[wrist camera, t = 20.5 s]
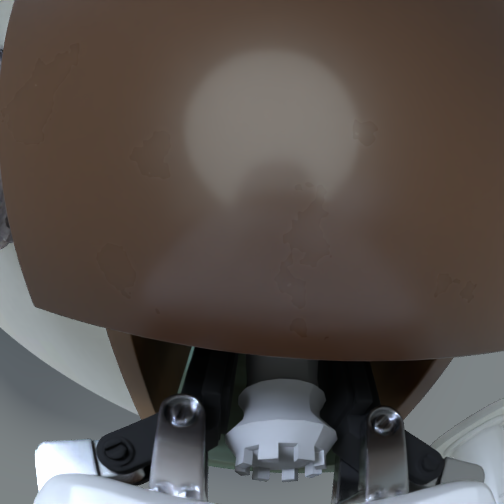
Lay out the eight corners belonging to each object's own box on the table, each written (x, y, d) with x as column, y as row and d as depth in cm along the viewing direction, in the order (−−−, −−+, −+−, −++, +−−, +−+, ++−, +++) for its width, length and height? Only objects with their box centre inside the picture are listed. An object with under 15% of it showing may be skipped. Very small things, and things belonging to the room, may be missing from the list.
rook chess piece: (275, 238, 12) (272, 425, 4) (348, 295, 13) (391, 457, 6) (214, 304, 13) (171, 463, 6) (285, 347, 14) (284, 493, 7)
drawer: (328, 391, 20) (337, 489, 13) (186, 377, 21) (159, 474, 13) (409, 156, 12) (539, 226, 4) (176, 123, 12) (44, 155, 4)
